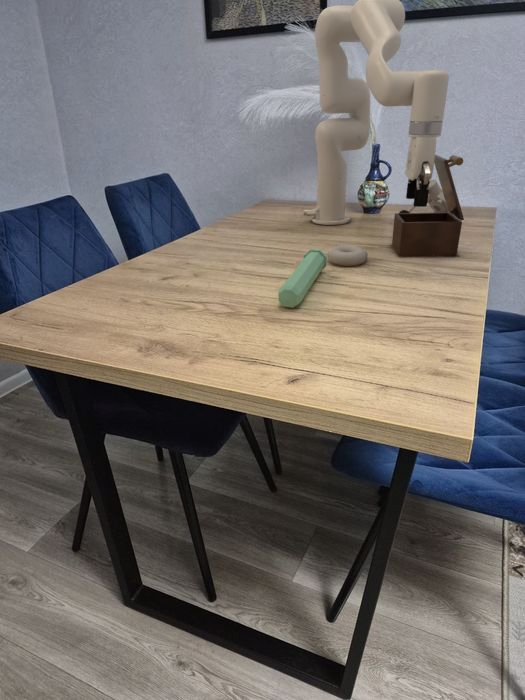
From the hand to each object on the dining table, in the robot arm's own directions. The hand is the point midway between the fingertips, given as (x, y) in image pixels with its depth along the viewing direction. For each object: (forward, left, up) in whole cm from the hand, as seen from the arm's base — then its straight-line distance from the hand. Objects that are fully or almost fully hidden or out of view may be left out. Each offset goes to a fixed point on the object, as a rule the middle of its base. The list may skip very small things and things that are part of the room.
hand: (415, 202), depth 122 cm
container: (-29, -30, -13) cm, 43 cm away
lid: (+7, 0, +4) cm, 8 cm away
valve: (+12, +36, -13) cm, 40 cm away
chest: (+3, 0, -13) cm, 13 cm away
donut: (-18, -10, -13) cm, 24 cm away
